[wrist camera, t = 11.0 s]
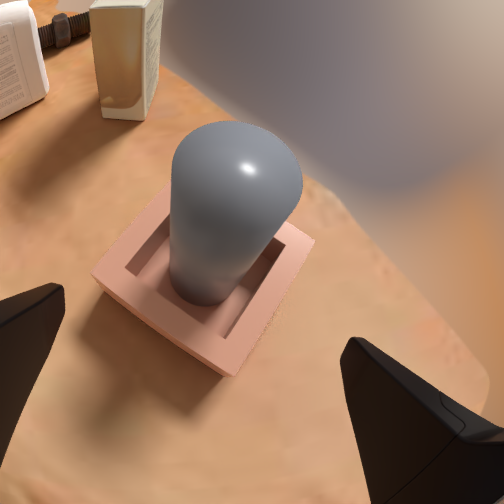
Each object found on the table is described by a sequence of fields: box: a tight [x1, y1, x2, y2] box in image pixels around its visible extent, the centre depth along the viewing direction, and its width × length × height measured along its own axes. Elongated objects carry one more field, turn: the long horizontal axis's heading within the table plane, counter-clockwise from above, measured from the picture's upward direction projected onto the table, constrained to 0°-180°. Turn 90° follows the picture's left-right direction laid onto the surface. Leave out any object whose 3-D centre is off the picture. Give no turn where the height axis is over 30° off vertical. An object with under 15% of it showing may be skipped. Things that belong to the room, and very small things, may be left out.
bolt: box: [37, 12, 91, 49], centre depth 26 cm, size 6×5×15 cm
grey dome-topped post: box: [170, 121, 303, 307], centre depth 16 cm, size 5×5×12 cm
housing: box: [90, 180, 315, 377], centre depth 21 cm, size 10×10×4 cm
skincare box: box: [89, 0, 163, 121], centre depth 21 cm, size 6×4×12 cm
